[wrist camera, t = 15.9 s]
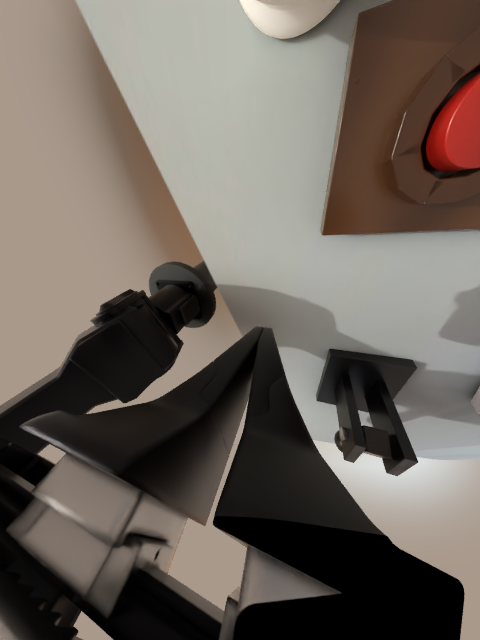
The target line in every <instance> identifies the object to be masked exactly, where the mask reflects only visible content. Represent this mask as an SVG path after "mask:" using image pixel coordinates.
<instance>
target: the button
mask: <svg viewBox="0 0 480 640" xmlns="http://www.w3.org/2000/svg"><path fill="white" fill-rule="evenodd" d="M426 155H427V159H428V161H429V163H430V164H431V165H432V166H433V167H434V168H435V169H437V170H440V171H445V172H453V171H460V170H467V169H474V168H480V73H479V74H477V75H476V76H475V77H473V78H472V79H471V80H469V81H468V82H467V83H466V84H464V85H463V86H462V87H461V88H460V89H459V90H458V91H457V92H456V93H455V94H454V95H453V96H452V97H451V98H450V100H449V101H448V102H447V103H446V104H445V106H444V107H443V108H442V110H441V111H440V113H439V114H438V116H437V117H436V119H435V121H434V123H433V125H432V127H431V130H430V132H429V135H428V138H427V143H426Z"/></svg>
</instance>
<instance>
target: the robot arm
mask: <svg viewBox="0 0 480 640" xmlns="http://www.w3.org/2000/svg"><path fill="white" fill-rule="evenodd" d="M155 283H156V286H157V288H158V292H156V293H155V294H153V295H152V296H150V297H149V298H148V297H147V296H146V293H145V292H144V291H143V290H142V291H140V292H137V291H133V290H131V289H129V290H128V291H126V292H124V293H122V294H120V295H118V296H116V297H115V298H113V299H111V300H110V301H108V302H106V303H104V304H102V305H101V306H100V312H99V313H98V314H96V315H97V316H96V317H94V318H93V319H91V322H93V324H94V326H93V327H91V328H89V329H88V330H86V331H84V332H83V333H81V334H80V335H79V336H78V337H77V338H76V340H75V342H74V344H73V345H72V347H71V349H70V351H69V352H68V354H67V356H66V358H65V360H64V361H63V363H62V365H61V366H60V367H59V368H58V369H56V370H55V371H53V372H52V373H50V374H49V375H47V376H46V377H44V378H42V379H41V380H40V381H38V382H36V383H35V384H33V385H32V386H30V387H29V388H27V389H25V390H24V391H22V392H21V393H19V394H18V395H16V396H15V397H13V398H12V399H10V400H8V401H7V402H6V403H4V404H2V405H1V406H0V640H82V639H80V638H78V637H76V635H77V633H78V630H77V629H76V628H75V627H73V625H74V624H75V622H76V620H77V618H78V616H79V614H80V613H81V611H82V612H84V613H85V614H86V615H87V616H88V617H89V618H90V619H91V620H93V621H94V622H95V623H96V624H97V625H98V626H99V627H100V628H102V629H103V630H104V631H105V632H106V633H107V634H108V635H109V636H110V637H111V638H112V639H113V640H460V634H461V624H462V615H463V605H464V588H463V585H462V584H461V582H460V581H459V580H458V579H456V578H454V577H452V576H450V575H449V574H447V573H445V572H443V571H441V570H439V569H437V568H435V567H433V566H431V565H430V564H428V563H426V562H424V561H422V560H420V559H418V558H416V557H414V556H412V555H410V554H408V553H407V552H405V551H403V550H401V549H399V548H398V547H397V546H395V545H394V544H393V543H392V542H391V540H390V539H389V538H388V537H387V536H386V535H384V534H383V533H382V532H381V531H380V530H379V529H378V528H377V527H376V526H375V525H374V524H373V523H372V522H371V521H370V520H369V518H368V517H367V516H366V515H365V513H364V512H363V511H362V509H361V508H360V507H359V505H358V504H357V503H356V502H355V500H354V499H353V497H352V496H351V495H350V493H349V492H348V491H347V489H346V488H345V487H344V485H343V484H342V483H341V481H340V480H339V479H338V477H337V476H336V475H335V474H334V472H333V471H332V469H331V468H330V467H329V466H328V464H327V463H326V462H325V460H324V459H323V458H322V456H321V455H320V453H319V451H318V450H317V448H316V446H315V444H314V442H313V440H312V438H311V436H310V434H309V432H308V430H307V428H306V425H305V423H304V421H303V419H302V417H301V414H300V412H299V410H298V408H297V406H296V403H295V401H294V398H293V396H292V394H291V391H290V388H289V385H288V382H287V378H286V376H285V372H284V368H283V365H282V362H281V358H280V355H279V351H278V348H277V344H276V341H275V338H274V334H273V331H272V328H267V327H265V328H263V327H258V326H257V327H255V328H254V329H252V330H251V331H250V332H249V333H247V334H246V335H245V336H244V337H242V338H241V339H240V340H239V341H238V342H236V343H235V344H234V345H233V346H231V347H230V348H229V349H228V350H226V351H225V352H224V353H223V354H221V355H220V356H219V357H218V358H216V359H215V360H214V362H211V363H210V364H209V365H208V366H206V367H205V368H204V369H202V370H201V371H200V372H198V373H197V374H196V375H194V376H193V377H191V378H190V379H188V380H187V381H185V382H184V383H182V384H181V385H179V386H178V387H176V388H175V389H173V390H172V391H170V392H168V393H167V394H165V395H164V396H162V397H160V398H158V399H156V400H154V401H150V402H147V403H142V404H137V405H132V406H127V407H123V408H117V409H112V410H107V411H102V412H98V413H92V414H86V413H87V412H89V411H90V410H91V409H93V408H94V407H95V406H98V405H100V404H104V403H107V402H111V401H114V400H117V399H119V400H120V401H121V402H123V403H127V402H129V401H132V400H134V399H136V398H137V397H138V396H139V395H140V394H141V393H142V392H143V391H144V390H145V389H146V388H147V387H148V386H149V385H150V384H151V383H152V382H153V381H155V380H156V379H157V378H159V377H161V376H162V375H164V374H165V373H166V372H167V371H168V370H169V369H170V368H171V367H172V366H173V364H174V363H175V360H176V358H177V356H178V354H179V352H180V350H181V348H182V346H183V344H184V343H183V342H182V340H180V339H179V337H178V336H177V335H176V334H178V333H179V331H180V330H181V329H182V328H183V327H184V326H187V325H188V324H189V323H190V321H191V320H192V319H201V318H202V314H201V309H200V306H199V302H198V298H197V295H196V291H195V288H194V284H193V283H192V282H191V281H174V280H157V281H156V282H155ZM189 284H190V285H191V286H190V285H189ZM248 398H249V401H248ZM247 401H248V407H247V413H246V419H245V425H244V429H243V433H242V436H241V439H240V442H239V445H238V448H237V451H236V454H235V456H234V459H233V462H232V465H231V468H230V471H229V473H228V476H227V479H226V483H225V485H224V488H223V491H222V493H221V496H220V499H219V502H218V505H217V508H216V512H215V516H214V520H213V525H214V526H215V527H216V528H218V529H219V530H221V531H222V532H224V533H225V534H227V535H228V536H230V537H231V538H233V539H234V540H236V541H237V542H239V543H240V544H242V545H243V546H245V547H247V552H246V558H245V564H244V570H243V577H242V582H241V587H238V588H237V589H236V590H234V591H233V592H232V593H231V594H230V595H228V598H227V601H226V606H225V611H223V610H221V609H220V608H218V607H217V606H215V605H214V604H212V603H211V602H209V601H208V600H206V599H205V598H203V597H202V596H200V595H199V594H197V593H196V592H194V591H193V590H191V589H189V588H188V587H187V586H185V585H184V584H182V583H180V582H179V581H177V580H176V579H174V578H173V577H171V576H170V575H168V571H169V568H170V566H171V563H172V560H173V557H174V555H175V552H176V549H177V546H178V544H179V541H180V538H181V535H182V533H183V530H184V527H185V524H186V522H187V519H188V518H190V519H192V520H194V521H196V522H198V523H200V524H202V525H204V526H205V525H206V522H207V519H208V517H209V514H210V511H211V508H212V505H213V502H214V499H215V496H216V493H217V490H218V487H219V484H220V481H221V478H222V475H223V472H224V469H225V466H226V463H227V460H228V458H229V454H230V451H231V448H232V446H233V443H234V440H235V437H236V434H237V431H238V428H239V425H240V422H241V419H242V416H243V413H244V410H245V407H246V404H247ZM49 444H51V445H53V446H55V447H57V448H59V449H61V450H62V451H64V452H66V454H65V455H64V456H63V457H62V458H61V460H60V461H59V462H58V463H57V464H55V463H53V462H51V461H49V460H47V459H45V458H43V457H41V456H39V455H38V453H39V452H40V451H42V450H43V449H44V448H45V447H46V446H47V445H49Z"/></svg>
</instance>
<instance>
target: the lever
mask: <svg viewBox="0 0 480 640" xmlns="http://www.w3.org/2000/svg"><path fill="white" fill-rule="evenodd" d="M362 431H363V435H364V439H365V443H366V447H367V448H366V449H365V450H364V452H363V453H366V454H369V455H373V456H376V457H381V458H387V459H393V458H392V452H391V447H390V441H389V436H388V431H385V430H381V429H377V428H373V427H369V426H362ZM335 444H336V446H337V447H338V449H339V450H340V451H341V452H343V449H342V442H341V439H340V430H339V431H337V432H336V434H335Z"/></svg>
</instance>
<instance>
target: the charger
mask: <svg viewBox="0 0 480 640" xmlns="http://www.w3.org/2000/svg"><path fill="white" fill-rule="evenodd" d="M470 403H471V405H472V406H473V408H474V409H475V410H476V411H477V413H478V414H479V415H480V387H479V389H478V390H477V392H476V394H475V395H474V397H473V399H472V400H471V402H470Z"/></svg>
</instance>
